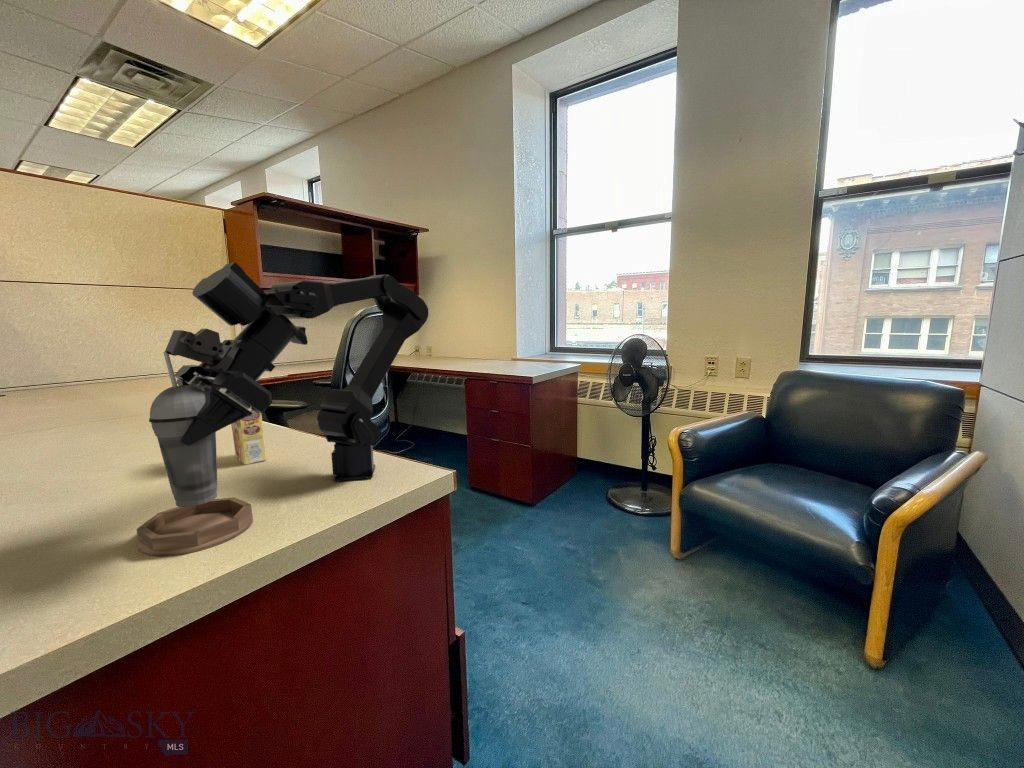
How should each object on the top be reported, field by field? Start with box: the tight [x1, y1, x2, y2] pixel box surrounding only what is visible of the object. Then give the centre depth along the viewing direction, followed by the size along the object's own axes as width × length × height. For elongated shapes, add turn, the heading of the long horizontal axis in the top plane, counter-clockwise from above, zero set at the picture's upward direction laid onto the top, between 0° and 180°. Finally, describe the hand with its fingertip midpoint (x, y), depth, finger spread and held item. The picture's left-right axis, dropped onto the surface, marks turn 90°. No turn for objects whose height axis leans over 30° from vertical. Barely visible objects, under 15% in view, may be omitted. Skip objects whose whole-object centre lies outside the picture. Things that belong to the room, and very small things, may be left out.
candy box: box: [230, 407, 267, 465], centre depth 90 cm, size 9×4×15 cm, turn 44°
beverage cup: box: [148, 351, 219, 507], centre depth 57 cm, size 7×7×20 cm
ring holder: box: [136, 497, 254, 557], centre depth 59 cm, size 13×13×2 cm
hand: (175, 439), depth 56 cm, fingers closed on beverage cup, 7 cm apart
